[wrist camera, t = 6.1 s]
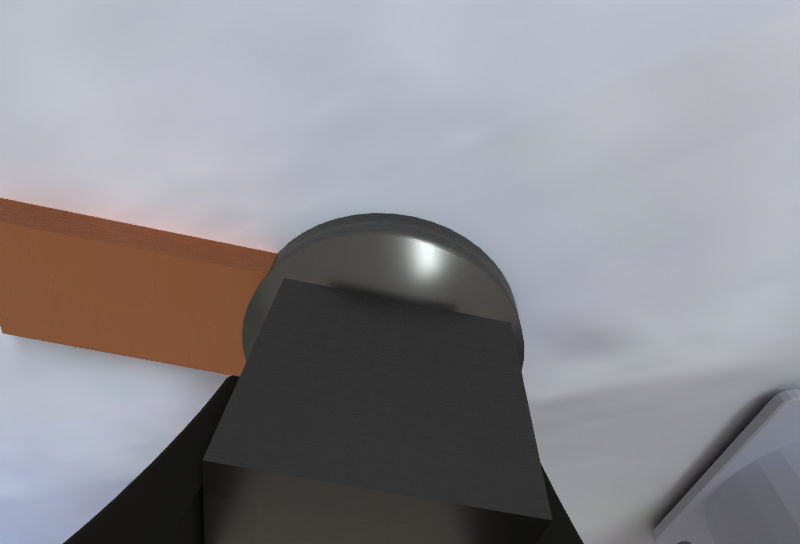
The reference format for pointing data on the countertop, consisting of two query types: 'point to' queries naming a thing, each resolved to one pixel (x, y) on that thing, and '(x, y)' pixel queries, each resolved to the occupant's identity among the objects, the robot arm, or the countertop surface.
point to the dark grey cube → (375, 429)
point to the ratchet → (219, 281)
